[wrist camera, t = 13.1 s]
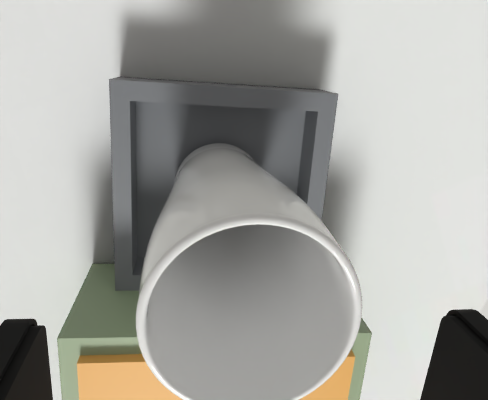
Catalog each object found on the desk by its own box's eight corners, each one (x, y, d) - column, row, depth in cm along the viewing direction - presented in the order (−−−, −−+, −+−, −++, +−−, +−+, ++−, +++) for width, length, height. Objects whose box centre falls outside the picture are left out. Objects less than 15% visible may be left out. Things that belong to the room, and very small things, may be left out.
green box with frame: (84, 74, 24) (31, 81, 16) (350, 91, 27) (421, 105, 18) (98, 387, 31) (66, 502, 23) (310, 380, 33) (349, 483, 25)
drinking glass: (175, 243, 27) (161, 440, 13) (151, 139, 25) (102, 240, 11) (278, 223, 28) (374, 392, 13) (263, 119, 25) (358, 190, 11)
